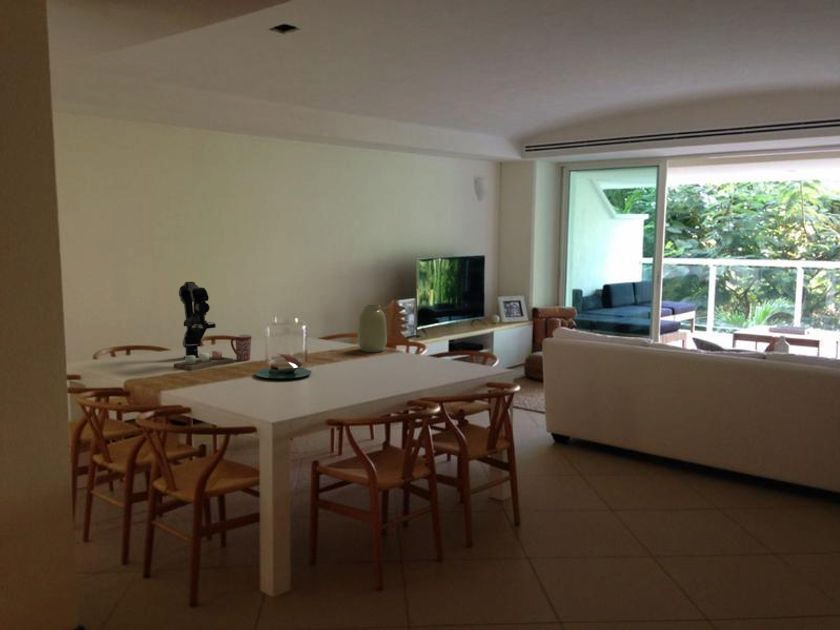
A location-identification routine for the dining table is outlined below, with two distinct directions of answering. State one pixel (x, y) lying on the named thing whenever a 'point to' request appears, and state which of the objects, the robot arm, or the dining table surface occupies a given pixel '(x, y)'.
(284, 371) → the dark teal dish
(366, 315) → the vase
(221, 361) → the button board
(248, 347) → the mug
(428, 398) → the dining table surface
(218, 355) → the button terracotta
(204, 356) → the button cream
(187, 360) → the button sage
